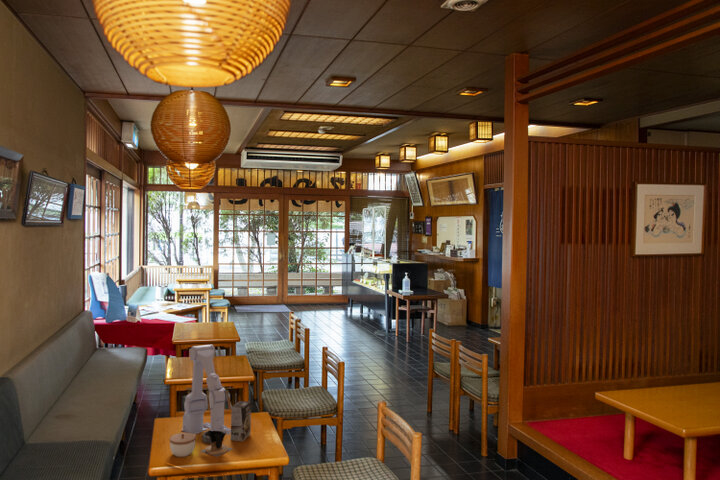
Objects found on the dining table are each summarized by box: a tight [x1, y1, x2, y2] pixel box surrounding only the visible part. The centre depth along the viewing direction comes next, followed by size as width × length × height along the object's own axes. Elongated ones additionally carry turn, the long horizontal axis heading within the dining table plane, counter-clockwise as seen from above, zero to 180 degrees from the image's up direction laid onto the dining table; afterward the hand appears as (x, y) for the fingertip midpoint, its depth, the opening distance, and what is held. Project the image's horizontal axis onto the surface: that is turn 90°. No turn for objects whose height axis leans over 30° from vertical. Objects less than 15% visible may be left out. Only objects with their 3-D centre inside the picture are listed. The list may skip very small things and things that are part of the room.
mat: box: [199, 446, 234, 458], centre depth 243 cm, size 10×10×1 cm
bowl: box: [201, 430, 211, 444], centre depth 255 cm, size 9×10×3 cm
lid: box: [204, 441, 229, 456], centre depth 243 cm, size 10×10×4 cm
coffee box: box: [230, 400, 252, 442], centre depth 258 cm, size 9×6×16 cm
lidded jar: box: [169, 432, 197, 458], centre depth 238 cm, size 11×11×9 cm
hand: (216, 447), depth 243 cm, fingers closed on lid, 2 cm apart
